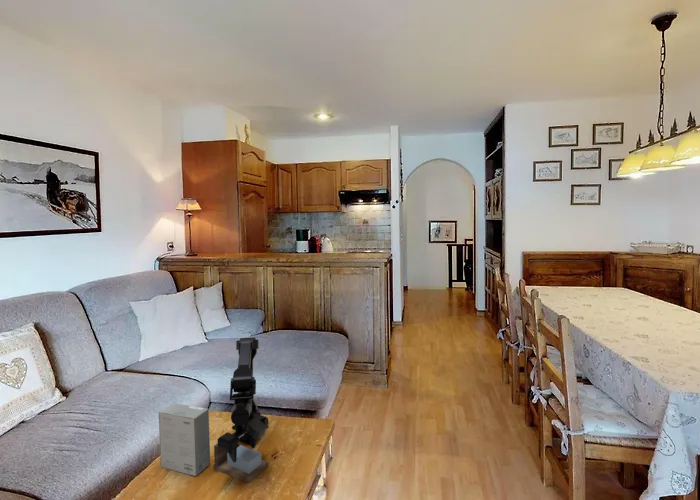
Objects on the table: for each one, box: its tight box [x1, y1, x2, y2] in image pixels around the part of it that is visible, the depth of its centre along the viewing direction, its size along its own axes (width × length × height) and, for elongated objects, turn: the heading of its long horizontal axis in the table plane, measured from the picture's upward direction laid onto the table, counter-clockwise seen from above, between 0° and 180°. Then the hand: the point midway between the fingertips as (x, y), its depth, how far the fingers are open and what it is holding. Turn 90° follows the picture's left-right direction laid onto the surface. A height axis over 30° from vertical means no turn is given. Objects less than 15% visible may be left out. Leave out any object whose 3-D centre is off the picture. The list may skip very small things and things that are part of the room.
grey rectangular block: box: [227, 444, 262, 474], centre depth 133 cm, size 10×6×4 cm, turn 60°
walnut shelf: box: [212, 431, 270, 483], centre depth 134 cm, size 16×10×8 cm, turn 63°
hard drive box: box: [158, 403, 211, 477], centre depth 135 cm, size 16×8×20 cm, turn 71°
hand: (244, 454), depth 133 cm, fingers open, 9 cm apart
